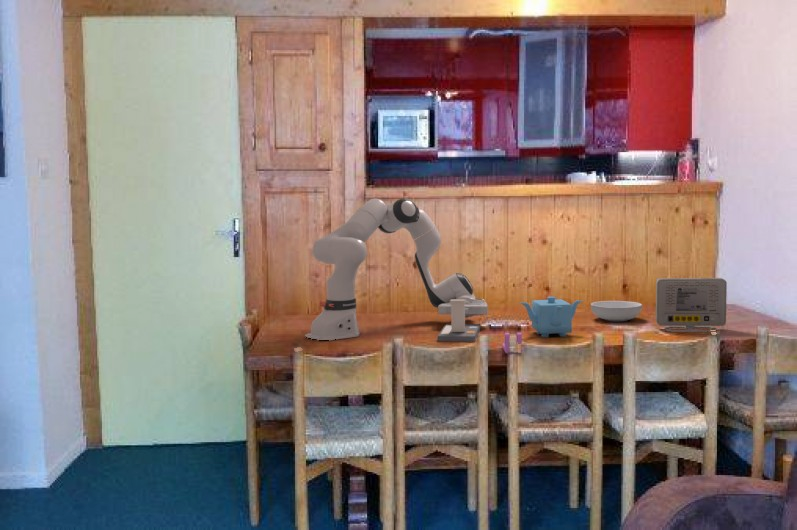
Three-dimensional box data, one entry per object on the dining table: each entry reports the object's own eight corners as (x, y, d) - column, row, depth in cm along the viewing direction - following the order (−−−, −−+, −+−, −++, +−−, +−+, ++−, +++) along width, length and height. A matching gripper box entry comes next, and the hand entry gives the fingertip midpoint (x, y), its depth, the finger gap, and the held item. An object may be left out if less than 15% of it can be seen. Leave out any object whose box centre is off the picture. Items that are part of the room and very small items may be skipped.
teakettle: (543, 328, 331) (542, 292, 330) (585, 333, 319) (585, 295, 318) (517, 336, 317) (517, 298, 316) (561, 341, 305) (560, 302, 303)
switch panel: (445, 328, 337) (445, 323, 336) (480, 328, 334) (480, 323, 334) (437, 341, 311) (437, 335, 311) (474, 341, 309) (474, 336, 308)
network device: (722, 327, 323) (723, 277, 321) (727, 331, 315) (728, 280, 313) (654, 327, 328) (655, 277, 326) (657, 331, 319) (658, 280, 317)
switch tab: (451, 330, 320) (450, 299, 318) (466, 330, 319) (465, 299, 317) (450, 332, 317) (450, 300, 315) (465, 332, 316) (464, 300, 314)
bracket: (521, 353, 287) (521, 333, 286) (505, 353, 287) (505, 334, 286) (517, 345, 300) (517, 327, 299) (501, 346, 300) (501, 327, 299)
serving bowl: (652, 319, 346) (652, 303, 345) (621, 326, 333) (621, 309, 332) (611, 314, 362) (611, 298, 361) (580, 320, 349) (580, 304, 348)
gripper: (439, 299, 345) (435, 304, 331) (488, 299, 341) (486, 304, 328) (439, 314, 346) (435, 319, 332) (488, 314, 342) (486, 320, 328)
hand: (461, 312), depth 330 cm, fingers closed
